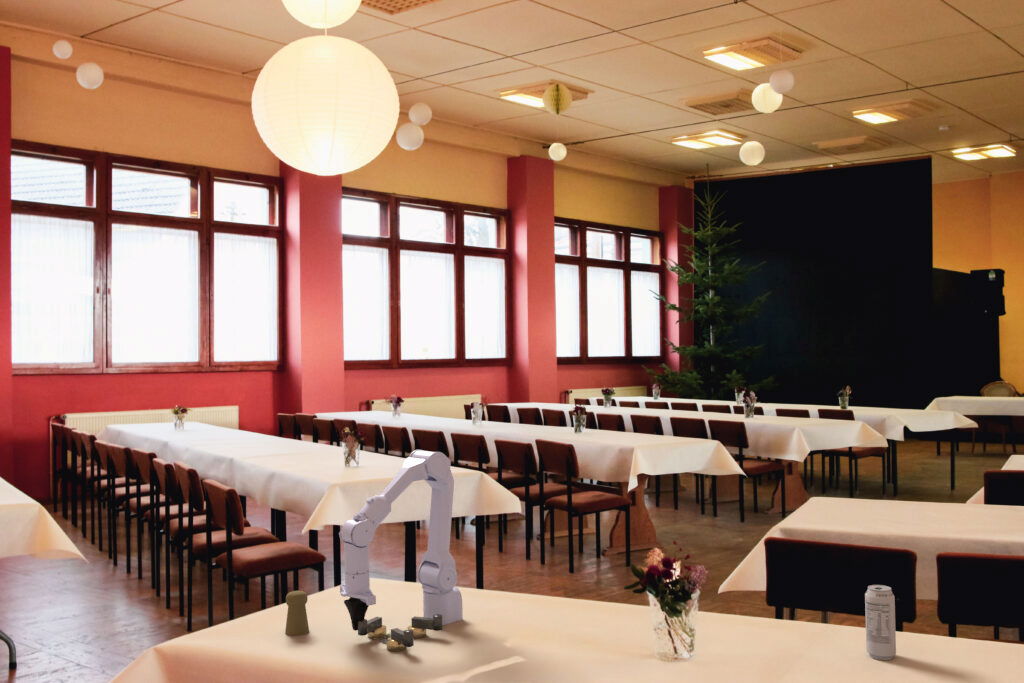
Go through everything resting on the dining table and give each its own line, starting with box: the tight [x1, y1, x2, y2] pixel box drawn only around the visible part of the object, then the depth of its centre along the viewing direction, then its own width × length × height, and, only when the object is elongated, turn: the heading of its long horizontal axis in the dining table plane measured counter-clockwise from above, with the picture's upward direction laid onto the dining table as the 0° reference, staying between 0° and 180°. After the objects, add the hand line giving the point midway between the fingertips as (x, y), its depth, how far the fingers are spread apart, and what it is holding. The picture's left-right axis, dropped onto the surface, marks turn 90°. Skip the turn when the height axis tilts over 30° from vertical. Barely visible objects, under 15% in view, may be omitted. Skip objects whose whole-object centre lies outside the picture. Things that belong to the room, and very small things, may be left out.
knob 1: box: [357, 616, 387, 639], centre depth 214 cm, size 9×4×5 cm, turn 152°
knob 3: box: [407, 614, 443, 639], centre depth 214 cm, size 9×4×5 cm, turn 67°
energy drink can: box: [864, 584, 897, 661], centre depth 198 cm, size 6×6×15 cm
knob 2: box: [386, 627, 415, 652], centre depth 204 cm, size 9×4×5 cm, turn 37°
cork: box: [284, 590, 310, 637], centre depth 220 cm, size 6×6×11 cm
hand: (358, 629), depth 212 cm, fingers closed, pressing on knob 1
